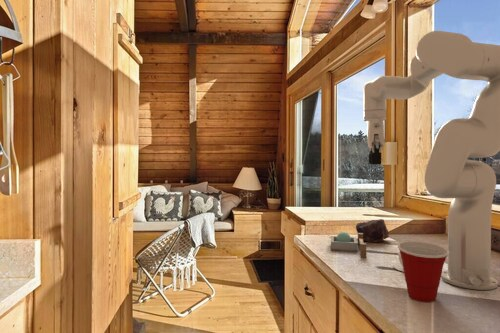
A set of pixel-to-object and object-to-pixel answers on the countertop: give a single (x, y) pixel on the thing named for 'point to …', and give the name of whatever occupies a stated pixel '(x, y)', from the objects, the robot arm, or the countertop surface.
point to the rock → (373, 230)
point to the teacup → (399, 264)
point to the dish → (344, 245)
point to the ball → (343, 237)
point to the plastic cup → (422, 268)
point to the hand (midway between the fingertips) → (374, 164)
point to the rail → (361, 245)
